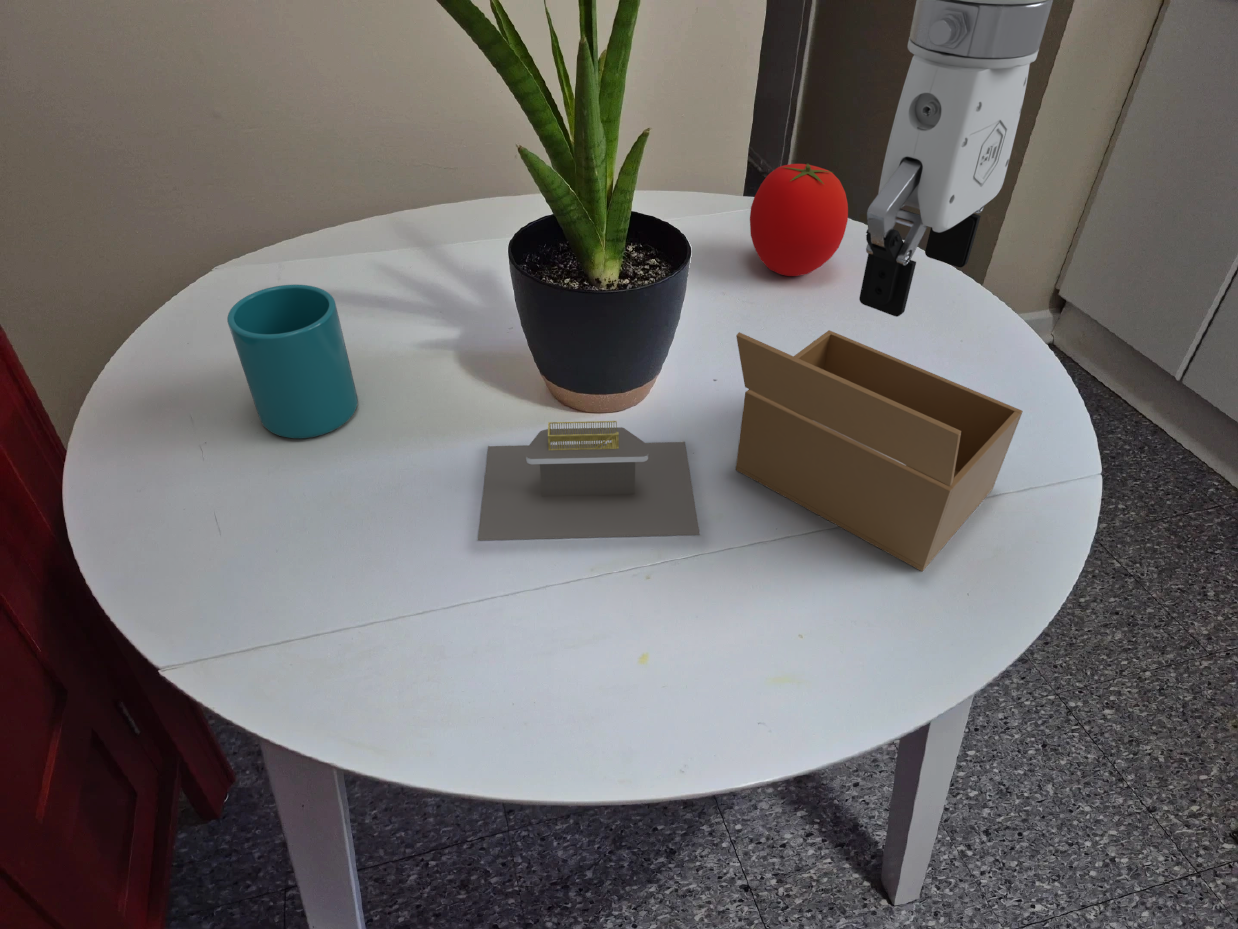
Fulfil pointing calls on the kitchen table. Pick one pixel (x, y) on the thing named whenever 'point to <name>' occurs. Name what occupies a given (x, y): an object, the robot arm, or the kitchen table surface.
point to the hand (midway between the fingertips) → (914, 283)
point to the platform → (587, 487)
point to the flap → (851, 409)
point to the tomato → (798, 218)
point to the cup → (294, 359)
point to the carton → (878, 454)
